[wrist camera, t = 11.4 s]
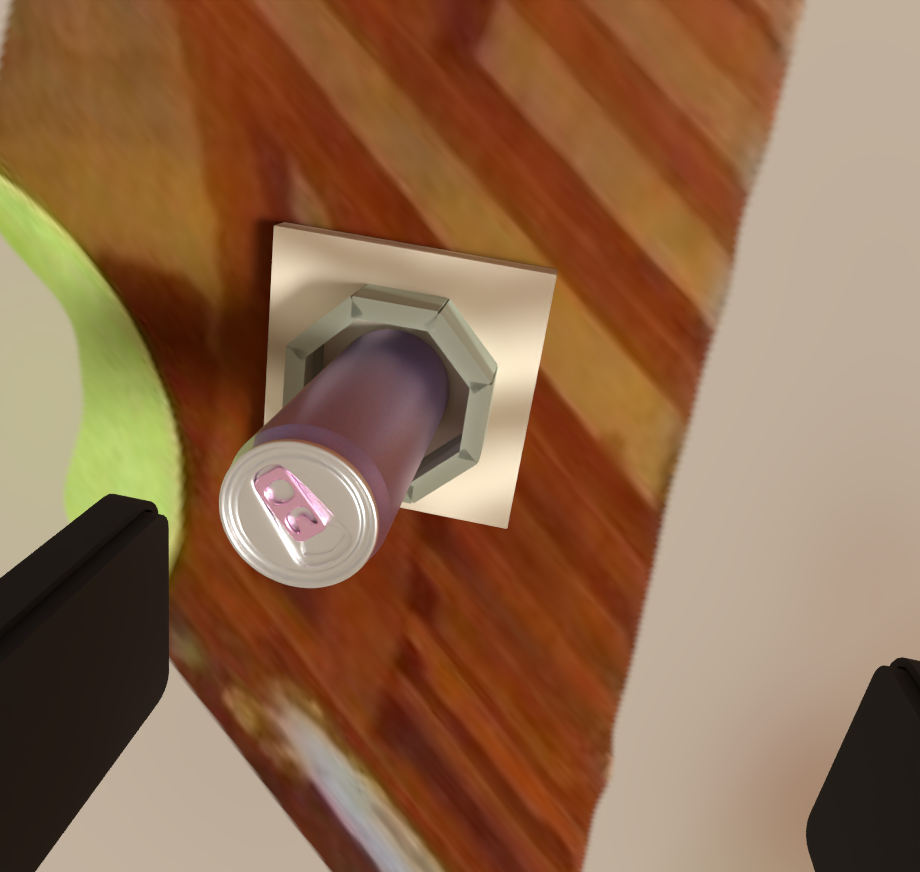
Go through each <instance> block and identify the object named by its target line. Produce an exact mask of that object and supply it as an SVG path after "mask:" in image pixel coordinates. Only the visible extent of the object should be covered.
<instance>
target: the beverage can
mask: <svg viewBox="0 0 920 872" xmlns="http://www.w3.org/2000/svg"><path fill="white" fill-rule="evenodd" d="M449 392H450V387H449V379H448V375H447V372H446V369H445V366H444V364H443V362H442V361H441V359H440V357H439V356H438V355H437V353H436V352H435V351H434V350H433V349H432V348H431V347H430V346H429V345H428V344H427V343H426V342H424V341H423V340H421V339H420V338H418V337H416V336H414V335H412V334H410V333H407V332H404V331H400V330H393V329H382V330H375V331H372V332H368V333H366V334H364V335H362V336H360V337H358V338H357V339H355V340H354V341H353V342H352V343H350V344H349V345H348V346H347V347H346V348H345V349H344V350H343V351H342V352H341V353H340V354H339V355H338V356H337V357H336V358H335V359H334V360H333V361H332V362H330V363H329V364H328V365H327V366H326V367H325V368H324V369H323V370H322V371H321V372H320V373H319V374H318V375H317V376H316V377H315V378H314V379H313V380H312V381H310V382H309V383H308V384H307V385H306V386H305V387H304V388H303V389H302V390H301V391H300V392H299V393H298V394H297V395H296V396H295V397H294V398H293V399H292V400H291V401H289V402H288V403H287V404H286V405H285V406H284V407H283V408H282V409H281V410H280V411H279V412H278V413H277V414H276V415H275V416H274V417H273V418H272V419H271V420H270V421H268V422H267V423H266V424H265V425H264V426H263V427H262V428H261V429H260V430H259V431H258V432H257V433H256V434H255V435H254V436H253V437H252V438H251V439H250V440H249V441H247V442H246V443H245V444H244V445H243V447H242V448H241V449H240V450H239V452H238V453H237V455H236V456H235V458H234V460H233V462H232V464H231V467H230V469H229V470H228V472H227V474H226V475H225V478H224V480H223V483H222V486H221V490H220V496H219V511H220V517H221V521H222V525H223V528H224V530H225V533H226V535H227V537H228V539H229V541H230V543H231V544H232V546H233V547H234V549H235V550H236V551H237V553H238V554H239V555H240V556H241V557H242V558H243V559H244V560H245V561H246V562H247V563H248V564H249V565H250V566H252V567H253V568H254V569H255V570H257V571H258V572H260V573H261V574H263V575H265V576H267V577H268V578H270V579H273V580H275V581H277V582H280V583H283V584H286V585H290V586H295V587H302V588H319V587H326V586H330V585H334V584H337V583H339V582H342V581H344V580H346V579H348V578H349V577H351V576H352V575H354V574H355V573H356V572H357V571H359V570H360V569H361V568H362V567H363V566H364V564H365V563H366V562H367V561H368V560H369V559H370V558H371V557H372V556H373V555H374V554H375V553H376V552H377V551H378V550H379V548H380V547H381V545H382V543H383V542H384V540H385V538H386V535H387V533H388V531H389V529H390V527H391V525H392V523H393V521H394V518H395V516H396V514H397V512H398V510H399V508H400V506H401V504H402V501H403V499H404V497H405V495H406V493H407V491H408V489H409V487H410V484H411V482H412V480H413V478H414V476H415V474H416V472H417V470H418V467H419V465H420V463H421V461H422V459H423V457H424V455H425V452H426V450H427V448H428V446H429V444H430V442H431V440H432V438H433V435H434V433H435V431H436V429H437V427H438V425H439V423H440V421H441V418H442V416H443V414H444V412H445V410H446V407H447V404H448V400H449Z"/></svg>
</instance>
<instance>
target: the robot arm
mask: <svg viewBox="0 0 920 872" xmlns="http://www.w3.org/2000/svg"><path fill="white" fill-rule="evenodd" d="M168 675H169V527H168V520H167V518H166V517H165V516H164V515H160V514H158V510H157V507H156V505H155V504H154V503H153V502H150V501H146V500H141V499H136V498H131V497H126V496H122V495H117V494H108V495H107V496H105V497H103V498H102V499H101V500H99V501H98V502H97V503H95V504H94V505H93V506H92V507H90V508H89V509H88V510H87V511H85V512H84V513H83V514H81V515H80V516H79V517H78V518H76V519H75V520H74V521H73V522H71V523H70V524H69V525H67V526H66V527H65V528H64V529H62V530H61V531H60V532H59V533H57V534H56V535H55V536H53V537H52V538H51V539H50V540H48V541H47V542H46V543H44V544H43V545H42V546H41V547H39V548H38V549H37V550H36V551H34V552H33V553H32V554H31V555H29V556H28V557H27V558H25V559H24V560H23V561H22V562H20V563H19V564H18V565H16V566H15V567H14V568H13V569H11V570H10V571H9V572H7V573H6V574H5V575H4V576H2V577H1V578H0V872H35V871H36V870H37V868H38V867H39V866H40V864H41V863H42V862H43V860H44V859H45V857H46V856H47V855H48V853H49V852H50V850H51V849H52V848H53V846H54V845H55V844H56V842H57V841H58V840H59V838H60V837H61V835H62V834H63V833H64V831H65V830H66V829H67V827H68V826H69V824H70V823H71V822H72V820H73V819H74V818H75V816H76V815H77V813H78V812H79V810H80V809H81V808H82V807H83V805H84V804H85V802H86V801H87V800H88V798H89V797H90V795H91V794H92V793H93V791H94V790H95V789H96V787H97V786H98V785H99V783H100V782H101V780H102V779H103V778H104V776H105V775H106V773H107V772H108V771H109V769H110V768H111V767H112V765H113V764H114V762H115V761H116V760H117V759H118V757H119V756H120V754H121V753H122V752H123V750H124V749H125V747H126V746H127V745H128V743H129V742H130V740H131V739H132V738H133V737H134V735H135V734H136V732H137V731H138V730H139V728H140V727H141V726H142V724H143V723H144V721H145V720H146V719H147V717H148V716H149V715H150V713H151V712H152V710H153V709H154V708H155V706H156V705H157V704H158V702H159V700H160V699H161V697H162V695H163V693H164V691H165V688H166V685H167V681H168ZM806 839H807V846H808V851H809V854H810V857H811V860H812V863H813V866H814V870H815V872H920V661H917V660H912V659H908V658H897V659H896V660H895V661H893V662H892V663H891V665H890V666H881V667H879V668H878V669H877V670H876V671H875V673H874V675H873V677H872V679H871V681H870V683H869V686H868V688H867V690H866V692H865V694H864V697H863V699H862V701H861V703H860V706H859V708H858V710H857V712H856V714H855V716H854V719H853V721H852V723H851V725H850V727H849V729H848V732H847V734H846V736H845V738H844V741H843V743H842V745H841V747H840V749H839V751H838V754H837V756H836V758H835V760H834V762H833V765H832V767H831V769H830V771H829V773H828V776H827V778H826V780H825V782H824V784H823V787H822V789H821V791H820V793H819V795H818V798H817V800H816V802H815V805H814V807H813V808H812V811H811V813H810V815H809V818H808V822H807V828H806Z"/></svg>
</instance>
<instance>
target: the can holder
mask: <svg viewBox="0 0 920 872" xmlns="http://www.w3.org/2000/svg"><path fill="white" fill-rule="evenodd" d="M556 276H557V269H551V268H545V267H540V266H534V265H528V264H522V263H517V262H511V261H505V260H499V259H494V258H488V257H482V256H477V255H471V254H465V253H459V252H454V251H448V250H442V249H436V248H431V247H425V246H419V245H413V244H408V243H402V242H396V241H391V240H385V239H379V238H373V237H368V236H362V235H356V234H350V233H345V232H339V231H333V230H327V229H322V228H316V227H310V226H305V225H299V224H293V223H287V222H283V223H280V224H277V225H274V233H273V253H272V273H271V293H270V313H269V333H268V353H267V374H266V394H265V414H264V425H265V424H266V423H267V422H268V421H270V420H271V419H272V418H273V417H274V416H275V415H276V414H277V413H278V412H279V411H280V410H281V409H282V408H283V407H284V406H285V405H286V404H287V403H288V402H289V401H291V400H292V399H293V398H294V397H295V396H296V395H297V394H298V393H299V392H300V391H301V390H302V389H303V388H304V387H305V386H306V385H307V384H308V383H309V382H310V381H312V380H313V379H314V378H315V377H316V376H317V375H318V374H319V373H320V372H321V371H322V370H323V369H324V368H325V367H326V366H327V365H328V364H329V363H330V362H332V361H333V360H334V359H335V358H336V357H337V356H338V355H339V354H340V353H341V352H342V351H343V350H344V349H345V348H346V347H347V346H348V345H349V344H350V343H352V342H353V341H354V340H355V339H357V338H358V337H360V336H362V335H364V334H366V333H368V332H372V331H375V330H382V329H393V330H400V331H404V332H407V333H410V334H412V335H414V336H416V337H418V338H420V339H421V340H423V341H424V342H426V343H427V344H428V345H429V346H430V347H431V348H432V349H433V350H434V351H435V352H436V353H437V355H438V356H439V357H440V359H441V361H442V362H443V364H444V366H445V369H446V372H447V375H448V379H449V387H450V392H449V400H448V404H447V407H446V410H445V412H444V414H443V416H442V418H441V421H440V423H439V425H438V427H437V429H436V431H435V433H434V435H433V438H432V440H431V442H430V444H429V446H428V448H427V450H426V452H425V455H424V457H423V459H422V461H421V463H420V465H419V467H418V470H417V472H416V474H415V476H414V478H413V480H412V482H411V484H410V487H409V489H408V491H407V493H406V495H405V497H404V499H403V501H402V504H401V506H400V507H401V508H406V509H411V510H416V511H421V512H426V513H431V514H436V515H441V516H446V517H451V518H455V519H460V520H465V521H470V522H475V523H480V524H485V525H490V526H495V527H500V528H505V529H507V526H508V521H509V516H510V511H511V506H512V501H513V496H514V490H515V485H516V480H517V475H518V470H519V465H520V460H521V455H522V450H523V445H524V439H525V434H526V429H527V424H528V419H529V414H530V409H531V404H532V399H533V394H534V389H535V383H536V378H537V373H538V368H539V363H540V358H541V353H542V348H543V343H544V338H545V332H546V327H547V322H548V317H549V312H550V307H551V302H552V297H553V292H554V287H555V282H556Z"/></svg>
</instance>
